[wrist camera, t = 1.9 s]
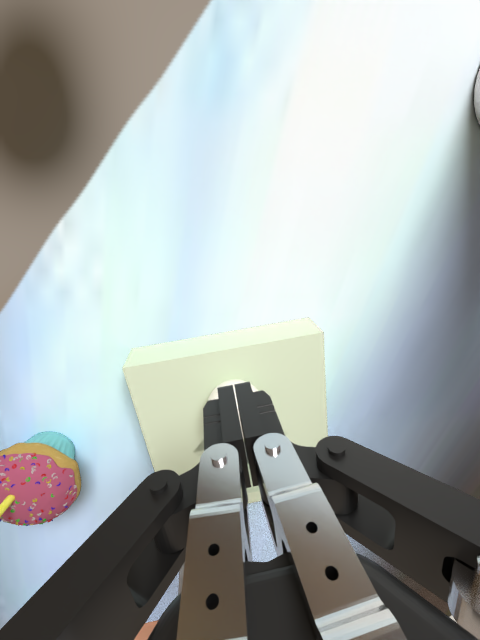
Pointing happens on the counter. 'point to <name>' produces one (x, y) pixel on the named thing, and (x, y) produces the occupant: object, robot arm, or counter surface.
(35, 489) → the cupcake
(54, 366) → the counter surface
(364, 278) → the counter surface
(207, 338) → the board
